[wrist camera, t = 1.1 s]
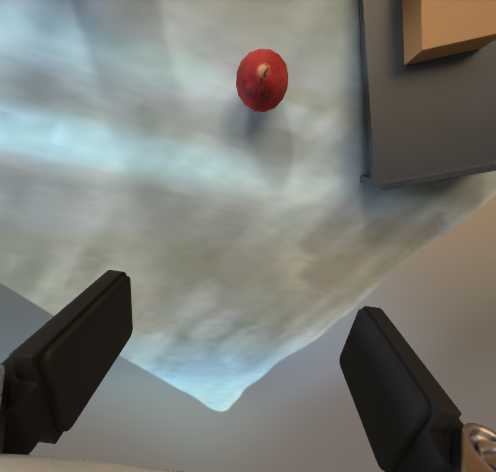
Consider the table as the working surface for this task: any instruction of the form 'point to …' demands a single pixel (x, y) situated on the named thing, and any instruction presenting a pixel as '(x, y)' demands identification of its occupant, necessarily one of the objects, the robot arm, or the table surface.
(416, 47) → the cardboard packet
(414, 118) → the ramp
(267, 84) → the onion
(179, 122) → the table surface
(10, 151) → the table surface
